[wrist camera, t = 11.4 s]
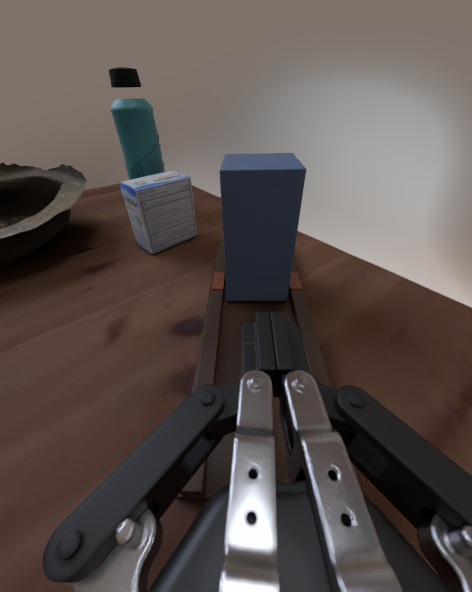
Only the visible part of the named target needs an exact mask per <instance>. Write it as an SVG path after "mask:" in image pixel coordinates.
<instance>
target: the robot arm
mask: <svg viewBox="0 0 472 592" xmlns="http://www.w3.org/2000/svg"><path fill="white" fill-rule="evenodd" d="M272 394H273V397H279V404H280V407H279V417H280V423H281V428H282V433H283V438H284V443H285V449H286V454H287V467H288V476H289V482H290V484H286V483H283V482H280V481H277V480H275V441H274V433H273V413H272ZM233 432H235V434H234V444H233V455H232V466H231V476H230V483H229V484H227V485H225V486H223V487H222V488H220V489H219V490H218V491H217V492H215V493H214V494H213V495H212V496H211V498H210V499H209V500H208V501H207V502H206V504H205V505H204V507H203V508H202V510H201V511H200V513H199V514H198V516H197V517H196V519H195V520H194V522H193V524H192V525H191V527H190V528H189V530H188V531H187V533H186V534H185V536H184V537H183V539H182V540H181V542H180V543H179V545H178V546H177V548H176V549H175V551H174V552H173V554H172V555H171V557H170V559H169V560H168V562H167V563H166V565H165V566H164V568H163V569H162V571H161V572H160V574H159V575H158V577H157V578H156V580H155V581H154V583H153V584H152V586H151V587H150V589H149V590H148V592H472V476H471V475H469V474H468V473H467V472H466V471H464V470H463V469H462V468H461V467H459V466H458V465H457V464H456V463H454V462H453V461H452V460H451V459H449V458H448V457H447V456H446V455H444V454H443V453H442V452H440V451H439V450H438V449H437V448H435V447H434V446H433V445H432V444H430V443H429V442H428V441H427V440H425V439H424V438H423V437H422V436H420V435H419V434H418V433H417V432H415V431H414V430H413V429H412V428H410V427H409V426H408V425H407V424H405V423H404V422H403V421H401V420H400V419H399V418H398V417H396V416H395V415H394V414H393V413H391V412H390V411H389V410H388V409H386V408H385V407H384V406H383V405H381V404H380V403H379V402H378V401H376V400H375V399H374V398H373V397H371V396H370V395H369V394H368V393H366V392H365V391H364V390H362V389H360V388H358V387H356V386H351V385H349V386H344V387H342V388H341V389H340V390H339V389H336V388H332V387H329V386H326V385H323V384H321V383H320V382H318V381H317V380H316V379H315V378H314V377H313V376H312V375H311V373H310V370H309V367H308V363H307V359H306V354H305V350H304V346H303V342H302V338H301V334H300V330H299V328H298V326H297V325H296V324H295V323H294V321H285V317H284V312H255V321H246V322H245V323H244V325H243V327H242V371H241V374H240V377H239V378H238V379H237V380H236V381H235V382H234V383H232V384H230V385H227V386H224V387H221V388H219V387H218V386H216V385H214V384H204V385H201V386H200V387H198V388H197V389H196V390H195V391H194V392H193V393H192V394H191V395H190V396H189V397H188V398H187V399H186V400H185V401H184V402H183V403H182V404H181V405H180V406H179V407H178V408H177V409H176V410H175V411H174V412H173V413H172V414H171V415H170V416H168V417H167V418H166V419H165V420H164V421H163V422H162V423H161V424H160V425H159V426H158V427H157V428H156V429H155V430H154V431H153V432H152V433H151V434H150V435H149V436H148V437H147V438H146V439H145V440H144V441H143V442H142V443H141V444H140V445H139V446H138V447H137V448H136V449H135V450H134V451H133V452H132V453H131V454H130V455H129V456H128V457H127V458H126V459H125V460H124V461H123V462H122V463H121V464H120V465H119V466H118V467H117V468H116V469H115V470H114V471H113V472H112V473H111V474H110V475H109V476H108V477H107V478H106V479H105V480H104V481H103V482H102V483H101V484H100V485H99V486H98V487H97V488H96V489H95V490H94V491H93V492H92V493H91V494H90V495H89V496H88V497H87V498H86V499H85V500H84V501H83V502H82V503H81V504H80V505H79V506H78V507H77V508H76V509H75V510H74V511H73V512H72V513H71V514H70V515H69V516H68V517H67V518H66V519H65V520H64V521H63V522H62V523H61V524H60V525H59V526H58V527H57V529H56V530H55V531H54V533H53V534H52V536H51V537H50V539H49V541H48V543H47V546H46V548H45V552H44V556H43V570H44V573H45V575H46V576H47V578H48V579H50V580H51V581H54V582H63V583H65V584H68V585H70V586H72V587H73V589H74V591H75V592H147V579H148V574H149V570H150V567H151V565H152V563H153V561H154V559H155V557H156V556H157V554H158V552H159V549H160V547H161V544H162V538H163V529H162V525H161V522H160V520H159V519H160V518H161V516H162V515H163V514H164V512H165V511H166V510H167V509H168V507H169V506H170V505H171V504H172V502H173V501H174V500H175V498H176V497H177V496H178V495H179V493H180V492H181V491H182V490H183V488H184V487H185V486H186V484H187V483H188V482H189V481H190V479H191V478H192V477H193V476H194V474H195V473H196V472H197V470H198V469H199V468H200V467H201V465H202V464H203V463H204V462H205V460H206V459H207V458H208V456H209V455H210V454H211V453H212V451H213V450H214V449H215V448H216V446H217V445H218V444H219V442H220V441H221V440H222V439H223V437H224V436H225V435H227V434H230V433H233ZM350 461H351V462H352V463H353V464H354V465H355V466H356V467H357V468H358V469H359V470H360V472H361V473H362V474H363V475H364V476H365V477H366V478H367V479H368V480H369V481H370V482H371V483H372V484H373V485H374V486H375V487H376V488H377V489H378V490H379V491H380V492H381V493H382V494H383V495H384V496H385V497H386V498H387V499H388V500H389V501H390V502H391V503H392V504H393V505H394V506H395V507H396V508H397V510H398V511H399V512H400V513H401V514H402V515H403V516H404V517H405V518H406V519H407V520H408V521H409V522H410V523H411V524H412V525H413V526H414V527H415V528H416V529H417V537H418V542H419V545H420V547H421V550H422V552H423V554H424V556H425V557H426V559H427V560H428V561H429V563H430V564H431V565H432V566H433V568H434V569H435V570H436V572H437V573H438V575H439V576H438V575H437V574H436V573H435V572H434V571H433V570H432V568H431V567H430V566H429V565H428V564H427V563H426V562H425V561H424V559H423V558H422V557H421V556H420V555H419V554H418V553H417V552H416V550H415V549H414V548H413V547H412V546H411V545H410V544H409V542H408V541H407V540H406V539H405V538H404V537H403V536H402V535H401V533H400V532H399V531H398V530H397V529H396V528H395V527H394V525H393V524H392V523H391V522H390V521H389V520H388V519H387V518H386V516H385V515H384V514H383V513H382V512H381V511H380V510H379V509H378V507H377V506H376V505H375V504H374V503H373V502H372V501H370V500H369V499H368V498H367V497H366V496H364V495H363V494H362V492H361V489H360V487H359V484H358V481H357V478H356V476H355V473H354V470H353V467H352V465H351V462H350ZM439 577H440V578H439Z"/></svg>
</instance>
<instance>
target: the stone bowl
mask: <svg viewBox="0 0 472 592" xmlns="http://www.w3.org/2000/svg"><path fill="white" fill-rule="evenodd" d="M86 181H87V180H86V179H85V177H84V176H83V174H82V173H81V172H78V171H77V170H75V169H74V168H73V167H72V166H65V165H60V167H57V168H52V169H49V170H41V168H36V167H30V166H29V167H28V166H18V165H16V164H12V165H5V164H4V163H1V164H0V266H3V265H8V264H11V263H14V262H15V261H16V260H17V259H18V258H19V257H20V256H23V255H26V254H28V253H30V252H32V251H34V250H36V249H38V248H40V247H41V246H43V245H44V244H46V243H47V242H48V241H50V239H51V238H52V237H54V236H55V235H56V234H57V233H58V232H59V231H60V230H61V229H62V228H63V227H64V226H65V225H66V223H67V222H68V220H69V218H70V208H71V207H72V206H73V205H74V203H75V202H76V201H77V199H78V198H79V197H80V196H81V195H82V194H83V189H84V184H85V182H86Z"/></svg>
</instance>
